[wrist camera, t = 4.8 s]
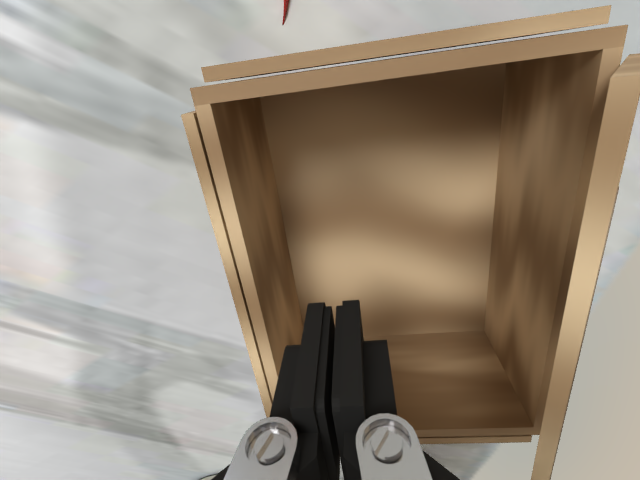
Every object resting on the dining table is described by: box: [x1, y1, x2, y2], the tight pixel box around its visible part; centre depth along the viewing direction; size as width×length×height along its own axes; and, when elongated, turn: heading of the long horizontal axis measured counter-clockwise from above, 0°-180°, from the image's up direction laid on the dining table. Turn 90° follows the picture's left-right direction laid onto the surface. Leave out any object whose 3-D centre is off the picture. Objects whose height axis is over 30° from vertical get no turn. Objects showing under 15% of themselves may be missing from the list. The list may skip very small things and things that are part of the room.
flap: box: [531, 54, 640, 480], centre depth 11 cm, size 15×1×6 cm
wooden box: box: [181, 5, 628, 444], centre depth 17 cm, size 17×13×7 cm
